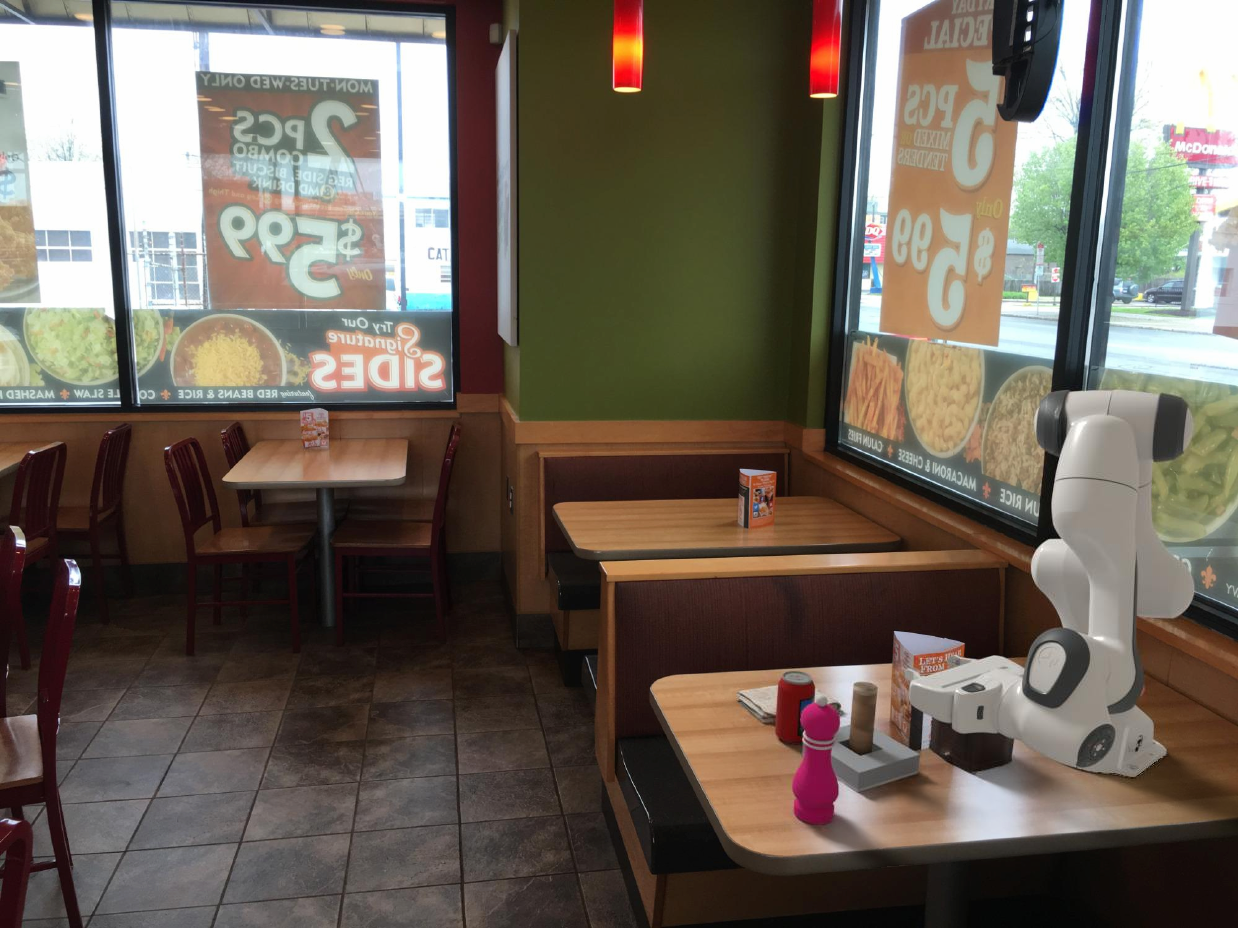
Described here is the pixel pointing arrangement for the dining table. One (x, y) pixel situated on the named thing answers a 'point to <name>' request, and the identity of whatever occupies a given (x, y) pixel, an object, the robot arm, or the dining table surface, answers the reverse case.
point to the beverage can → (793, 705)
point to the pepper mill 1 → (817, 764)
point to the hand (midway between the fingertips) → (929, 665)
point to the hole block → (871, 761)
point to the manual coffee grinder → (970, 747)
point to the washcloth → (769, 702)
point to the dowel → (862, 717)
